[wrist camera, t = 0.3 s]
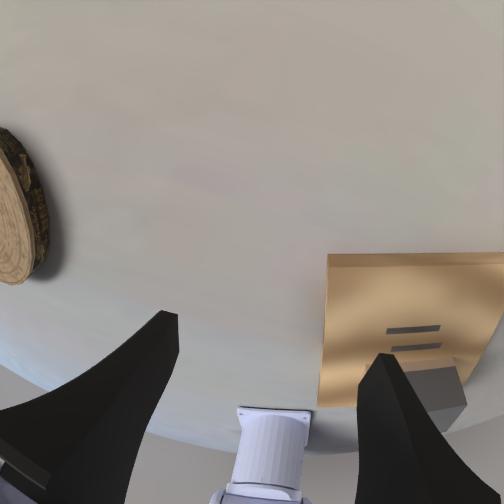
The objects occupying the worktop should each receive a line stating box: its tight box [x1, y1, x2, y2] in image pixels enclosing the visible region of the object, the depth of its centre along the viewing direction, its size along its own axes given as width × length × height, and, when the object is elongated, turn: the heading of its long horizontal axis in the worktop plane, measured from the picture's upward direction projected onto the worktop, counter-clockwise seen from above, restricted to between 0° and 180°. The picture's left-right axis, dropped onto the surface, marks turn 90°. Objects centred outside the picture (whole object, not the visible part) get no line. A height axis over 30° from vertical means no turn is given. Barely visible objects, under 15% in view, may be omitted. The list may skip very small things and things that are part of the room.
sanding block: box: [361, 357, 467, 433], centre depth 20 cm, size 4×8×5 cm, turn 96°
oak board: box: [317, 253, 504, 407], centre depth 21 cm, size 16×15×2 cm
